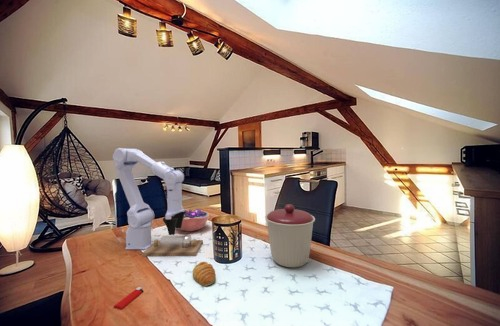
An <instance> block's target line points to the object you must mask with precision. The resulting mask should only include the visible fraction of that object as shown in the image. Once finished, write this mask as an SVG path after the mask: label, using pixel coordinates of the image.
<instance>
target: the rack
mask: <svg viewBox="0 0 500 326" xmlns="http://www.w3.org/2000/svg"><path fill="white" fill-rule="evenodd" d="M153 241H154V243H153V244H152V245H151V246H150V247H149V248H148V249H144V251H143V252H142V257H196V256H197V254H198V253H199V252H200V249H201V247H202V245H203V244H204V241H203V239H197V238H194V239H191V247H188V248H182V247H162V248H161V245H160V239H154V240H153Z"/></svg>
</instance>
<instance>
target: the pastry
mask: <svg viewBox="0 0 500 326" xmlns="http://www.w3.org/2000/svg"><path fill="white" fill-rule="evenodd" d="M192 278H193V279H194V280H195V281H196V282H197V283H198V284H199V285H201V286H203V287H208V286H210V285H212V284H213V283H215V281H216V270H215V269H214V267H213V265H212V264H211V263H208V262H207V261H200V262H198V263H197V264H196V265H195V266H194V268H193V269H192Z"/></svg>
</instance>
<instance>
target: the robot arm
mask: <svg viewBox="0 0 500 326" xmlns="http://www.w3.org/2000/svg"><path fill="white" fill-rule="evenodd" d="M112 160H113V163H114V164H115V169H116V170H115V171H116V173H117V175H118V179H119V181H120V183H121V186H122V190H123V191H124V194H125V198H126V200H127V203H128V204H129V209H128V210H127V212H126V215H127V223H128V227H127V229H126V232H125V246H126V247H125V248H124V250H146V249H148V248H149V247H150V246H151V245H152V244H153V243H154V240H152V224H153V221H154V220H155V213H154V210H153V209H152V208H151V207H150V205H149V204H148V203H146V202H144V200H143V197H142V194H141V192H140V190H139V189H140V188H139V186H138V184H137V182H136V180H135V179H136V178H135V177H134V174H133V172H132V171H133V168H134V167H136V166H137V164H138V163H140V164H142V165H143V166H145V167H147V168H149V169H151V173H152V174H153V175H156V176H157V177H159V178H160V179H162V180H163V181H164V184H165V185H166V186H165V188H166V192H167V193H166V194H167V196H166V197H167V199H166V200H167V210H166V213H165V214H164V217H163V218H162V221H163V222H164V224H165V227H166V228H167V232H168V235H175V234H176V229H178V228H181V226H182V221H183V217H184V215H185V213H186V211H187V210H186V209H185V208H184V206H183V196H182V195H183V193H182V191H183V190H182V189H183V187H182V183H183V182H184V180H185V175H184V173H183V171H182V170H180V169H177V170H176V169H175V168H174V167H170V166H169V165H167V164H166V162H165V161H155V160H154V159H153V158H151V157H149V156H148V155H146V154H145V153H143V151H142V150H140V149H138V148H124V147H118V148H116V149H115V150H114V153H113V154H112ZM185 210H186V211H185ZM173 216H174V217H173Z"/></svg>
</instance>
